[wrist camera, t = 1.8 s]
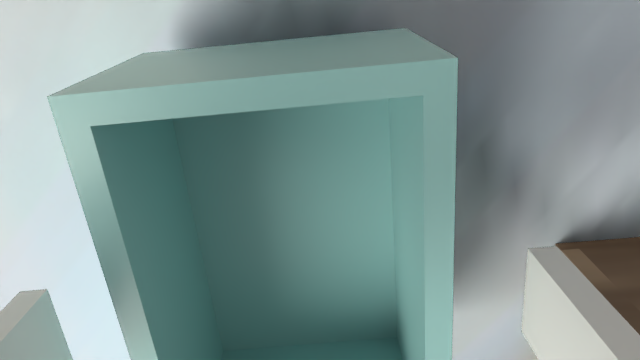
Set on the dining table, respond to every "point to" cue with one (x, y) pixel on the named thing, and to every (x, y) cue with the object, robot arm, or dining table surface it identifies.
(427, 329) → the teal crate
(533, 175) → the dining table surface
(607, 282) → the walnut crate
